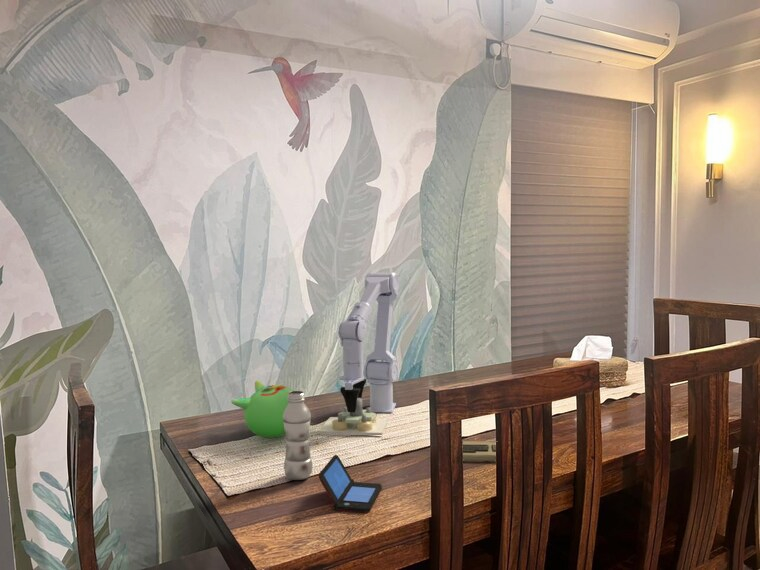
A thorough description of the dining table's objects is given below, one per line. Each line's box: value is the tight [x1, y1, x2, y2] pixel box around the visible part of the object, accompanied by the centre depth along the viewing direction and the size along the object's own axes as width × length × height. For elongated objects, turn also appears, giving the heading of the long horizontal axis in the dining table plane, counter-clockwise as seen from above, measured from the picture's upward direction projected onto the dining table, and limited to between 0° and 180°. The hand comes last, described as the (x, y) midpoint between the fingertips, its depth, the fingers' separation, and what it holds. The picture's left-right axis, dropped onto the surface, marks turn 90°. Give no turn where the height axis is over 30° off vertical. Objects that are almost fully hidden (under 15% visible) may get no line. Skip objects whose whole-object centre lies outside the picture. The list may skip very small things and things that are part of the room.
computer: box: [463, 440, 497, 463], centre depth 144 cm, size 16×8×3 cm, turn 84°
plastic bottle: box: [283, 390, 314, 481], centre depth 132 cm, size 6×7×20 cm
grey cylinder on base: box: [339, 398, 376, 424], centre depth 167 cm, size 10×10×6 cm
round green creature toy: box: [231, 380, 295, 439], centre depth 162 cm, size 18×17×15 cm
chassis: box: [318, 406, 390, 436], centre depth 167 cm, size 13×18×5 cm
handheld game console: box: [318, 454, 383, 514], centre depth 122 cm, size 12×11×7 cm
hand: (354, 408), depth 167 cm, fingers open, 7 cm apart
